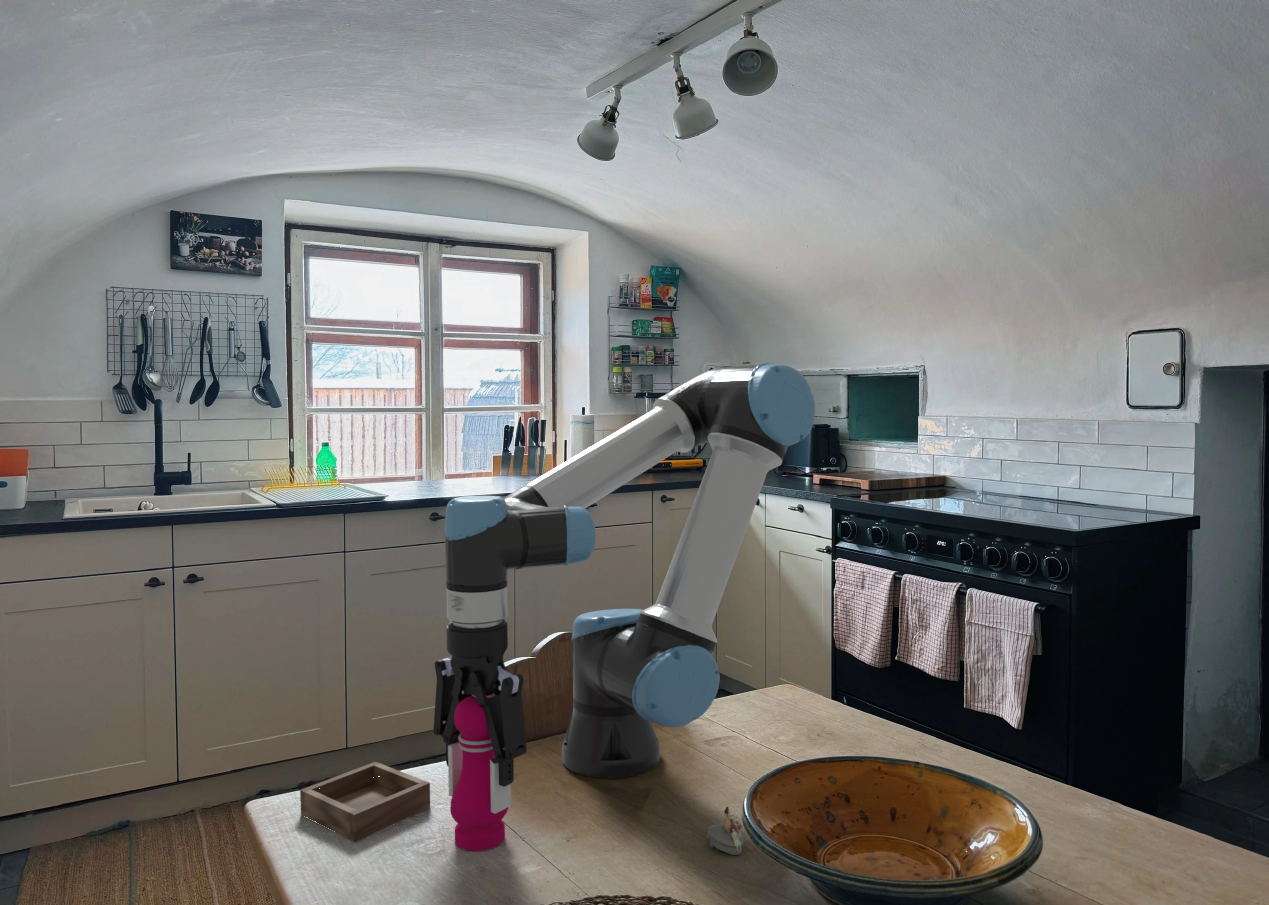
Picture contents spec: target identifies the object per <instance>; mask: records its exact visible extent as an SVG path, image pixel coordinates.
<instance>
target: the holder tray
mask: <svg viewBox="0 0 1269 905" xmlns="http://www.w3.org/2000/svg"><path fill="white" fill-rule="evenodd" d="M378 776H380V777H378ZM373 777H374V778H373ZM319 788H320V789H319ZM299 792H300V793H299V794H300V800H299V801H300V816H301V815H303V816H305V817H308V818H309V819H311V820H313V821H316V822H317V823H319V824H321V825H323V826H325V827H327V828H329V829H331V830H333V831H335V832H336V834H337V833H338V835H339V834H340V835H339V836H341V837H343V838H346V839H348V840H350V841H352V842H353V843H357V842H358V841H361V840H363V839H365V838H368V837H369V836H371V835H373V834H374V835H375V834H376V833H378V832H380V831H383V830H385V829H386V828H389V827H391V825H392V826H393V824H394V825H396V824H398V823H400V822H402V820H403V821H405V820H406V819H409V818H411V817H413V816H416V815H418V814H420V813H423V812H425V811H427V810H429V809H431V783H430V782H428V781H426V780H424V779H422V778H419V777H416V776H413V775H411V774H410V773H409V774H408V773H406V772H403V771H400V770H398V769H395V768H393V767H390V766H388V765H385V764H383V763H380V762H377V761H373V762H371V763H368V764H366V765H363V766H361V767H357V768H355V769H352V770H350V771H347V772H345V773H342V774H339V775H336V776H333V777H332V778H329V779H326V780H324V781H321V782H317V783H316V784H312V785H310V786H308V787H305V788H301V789H300V791H299ZM303 816H302V817H303ZM305 817H304V818H305ZM309 819H308V820H309ZM311 820H310V821H311ZM313 821H312V822H313ZM317 823H316V824H317ZM319 824H318V825H319ZM321 825H320V826H321ZM323 826H322V827H323ZM325 827H324V828H325ZM327 828H326V829H327ZM329 829H328V830H329ZM331 830H330V831H331ZM333 831H332V832H333ZM335 832H334V833H335Z"/></svg>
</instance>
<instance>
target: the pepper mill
mask: <svg viewBox="0 0 1269 905" xmlns="http://www.w3.org/2000/svg"><path fill="white" fill-rule="evenodd" d="M486 697H487V698H489V697H492V695H489V696H486ZM454 723H455V726H456V728H457V729H458V730H459V732H460V733H461V734H460V735H459V737H458V739H459V745H458V746H459V748H460V749H462V755H463V762H462V770H461V775H460V778H459V780H458V783H457V785H456V787H455V790H454V792H453V795H452V796H451V799H450V807H449V808H450V815H451V817H452V819H453V820H454V821H455V822H456V824H455V826H454V843H455V845H456V846H457V847H459V848H460V849H462V850H464V851H470V852H480V851H483V852H484V851H488V850H491V849H494V848H497V847H498V846H499V845H501V844H502V843H503V842H504V840H505V837H506V825H505V821H504V820H503V818H504V817H506V814H507V813H508V811H509V807H508V808H506V809H504V810H502V811H500V812H498V813H496V814H495V813H492V812H491V780H490V760H491V759H493V758H495V754H494V750H493V746H492V742H491V738H490V735H489V731H488V727H487V723H486V716H485V713H484V711H483V708H482V707H481V706H479V704H478V701H477V697H475V696H474V695H471V696H468V697H466V698H465V699H463V700H462V701H461V702H460V703H459V704H458V705H457V707H456V710H455V714H454Z"/></svg>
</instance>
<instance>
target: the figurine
mask: <svg viewBox="0 0 1269 905" xmlns="http://www.w3.org/2000/svg"><path fill="white" fill-rule="evenodd" d="M723 814H724V815H725V818H724V820H723V822H718V823H715V824H712V825H710V826H709V827H707V833H706V837H705V838H706V839H707V840H708V841H709V842H708V844H709V847H710V848H711V849H713V848H715V849H717V850H718V851H722V852H723V853H726V854H729V855H731V856H733V855H734V856H737V855H740V854H742V852H743V851H742V850H743V849H742V847H743V845H744V843H745V840H744V836H743V835H742V831H741V829H742V825H741V823H740V820H739V818H738V817H739V816H738V815H736V817H735V815H734V814H731V811H730V808H729V806H725V809H724V812H723Z"/></svg>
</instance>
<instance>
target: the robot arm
mask: <svg viewBox="0 0 1269 905" xmlns="http://www.w3.org/2000/svg"><path fill="white" fill-rule="evenodd" d="M811 389H812V388H811V386H810V384H809V382H808V380H807V379H806V378H805V376H804V375H803V374H802V373H801V372H799V371H798V370H797V369H795V368H794V367H792V366H789V365H786V364H774V363H770V362H764V363H760V364H754V365H753V364H752V365H737V366H735V365H732V366H731V365H729V366H718V367H715V368H712V369H709V370H707V371H705V372H702V373H700V374H698V375H697V376H695V377H693V378H690V379H689V380H687V381H685V382H684V383H683V384H680V386H677V387H676V388H674V389H672V390H671V391H669V392H667V393H666V394H664V395H662V396H660V397H658V398H657V399H656V400H655V401H654V402H653V405H652V409H651V410H650V411H648V412H647V413H644V414H643V415H641V416H639V417H638V418H635V420H633V421H631V422H629V423H628V424H626V425H624V426H623V427H621V428H620V429H618V430H617V431H615V432H613V433H611V434H609V435H608V436H606V437H605V438H603V439H601V440H599V441H598V442H596V443H595V444H592V445H591V446H589V447H587V448H586V449H585V450H583V451H580V453H577V454H576V455H574V456H573V457H571V458H570V459H567V460H566V461H564V462H563V463H561V464H560V465H557V466H556V467H554V468H553V469H551V470H549V471H548V472H546V473H544V474H542V475H540V476H539V477H538V478H537V477H536V479H534V480H532V481H530V482H529V483H527V484H526V485H523V486H522V487H520V488H518V489H516V490H515V491H513V492H511V493H509V494H508V495H506V496H504V495H502V496H501V495H498V496H497V495H468V496H467V495H465V496H459V497H454V498H452V499H451V500H449V502H448V503H447V505H446V508H445V518H444V533H443V538H444V546H445V547H444V549H445V573H446V574H445V575H446V576H445V577H446V580H445V581H446V582H445V584H446V587H445V588H446V592H445V593H446V619H447V620H448V621H449V622H448V623H447V625H446V651H447V653H448V654H450V656H449V657H446V658H442V659H438V660H435V662H434V669H435V675H436V687H435V699H434V700H435V701H434V702H435V704H434V716H433V717H434V718H433V720H434V721H433V734H434V735H435V736H437V737H438V736H441V738H442V741H443V742H444V743H445V763H446V766H447V767H448V796H450V797H452V795H453V792H454V790H455V787H456V785H457V783H458V780H459V778H460V775H461V770H462V762H463V755H462V749H460V748H459V746H458V745H459V739H458V737H459V735H460V734H461V733H460V732H459V730H458V729H457V728H456V726H455V723H454V714H455V710H456V707H457V705H458V704H459V703H460V702H461V701H462V700H463V699H465V698H466V697H468V696H471V695H474V696H475V697H477V701H478V704H479V706H481V707H482V708H483V711H484V713H485V716H486V723H487V727H488V731H489V735H490V738H491V742H492V746H493V750H494V754H495V758H493V759H491V760H490V780H491V812H492V813H495V814H496V813H498V812H500V811H502V810H504V809H506V808H508V809H509V807H512V784H513V783H514V780H515V777H514V776H515V775H514V774H515V773H514V772H515V771H514V768H515V766H514V765H515V764H514V760H515V759H516V758H517V757H520V756H522V755H525V754H526V753H527V752H528V750H527V740H526V728H525V727H526V726H525V718H524V708H523V705H524V704H523V698H522V691H523V685H524V676H523V674H521V673H517V674H513V673H511V672H509V671H507V669H506V665H505V663H504V655H505V653H506V651H507V649H508V646H509V641H508V640H509V636H508V635H509V632H508V631H509V630H508V626H509V625H508V622H507V621H506V620H505V619H506V618H507V617H508V616H509V615H508V612H509V610H508V606H509V605H508V571H511V570H512V571H514V570H522V569H532V568H533V569H534V568H542V567H552V566H568V565H572V564H576V563H582V562H585V561H587V560H588V559H590V557H591V556H592V554H593V552H594V549H595V546H596V526H595V523H594V522H595V521H594V520H593V517H592V516H591V513H590V512H589V511H588V510H587V509H586V508H589V507H590V506H591V505H593V504H595V503H596V502H598V501H599V500H601V499H603V498H604V497H606V496H608V495H609V494H611V493H613V492H615V491H616V490H617V489H619V488H620V487H622V486H624V485H625V484H627V483H628V482H630V481H631V480H633V479H635V478H636V477H639V475H642V474H643V473H644V472H647V470H650V469H651V468H652V467H654V466H656V465H657V464H659V463H660V462H662V461H665V459H667V458H669V457H670V456H671V455H674V454H675V453H677V452H678V453H683V454H684V453H688V452H690V451H692V450H694V449H695V448H697V447H698V446H701V445H703V444H707V443H708V444H709V445H710V448H711V450H712V451H711V455H710V458H709V461H708V464H707V466H706V468H705V470H704V471H705V472H704V474H703V476H702V479H701V482H700V484H699V488H698V490H697V492H696V495H695V498H694V501H693V503H692V505H691V508H690V511H689V514H688V516H687V519H686V522H685V525H684V527H683V530H682V532H681V535H680V538H679V541H678V543H677V545H676V549H675V550H674V553H673V556H672V559H671V562H670V564H669V567H668V570H667V573H666V575H665V577H664V580H663V583H662V585H661V588H660V590H659V593H658V596H657V599H656V601H655V603H654V604H652V605H650V606H649V607H647V608H645V609H641V608H613V609H603V610H602V609H601V610H594V611H589V612H585V613H582V614H580V615H578V616H577V617H575V619H574V621H573V623H572V632H571V633H572V634H571V642H572V698H573V699H572V700H573V704H572V705H573V706H572V713H571V717H570V719H569V723H568V726H567V729H566V733H565V736H564V739H563V742H562V747H561V760H562V764H563V765H564V766H565V767H566V768H567V769H568V770H569V771H572V772H573V773H577V774H578V775H583V776H586V777H591V778H592V777H593V778H599V779H618V778H619V779H620V778H621V779H622V778H628V777H633V776H637V775H641V774H644V773H647V772H649V771H651V770H653V769H654V768H655V767H657V765H658V764H659V763H660V760H661V745H660V741H659V739H658V737H657V734H656V730H655V727H654V723H655V724H657V725H659V726H662V727H667V728H679V727H684V726H687V725H689V724H690V723H691V722H693V721H696V720H698V719H699V718H700V717H702V716H703V715H704V714H705V713H706V712H707V711H708V710H709V709H710V707H711V705H712V704H713V702H714V700H715V699H716V696H717V694H718V690H719V688H720V687H719V686H720V682H721V681H720V679H721V678H720V672H719V671H718V668H719V665H718V663H717V660H715V658H714V656H713V655H714V652H715V649H716V647H717V644H718V638H717V637H716V634H715V632H714V629H713V623H714V620H715V617H716V615H717V612H718V610H719V606H720V603H721V601H722V598H723V595H724V593H725V590H726V587H727V584H728V582H729V579H730V576H731V573H732V571H733V568H734V564H735V563H736V560H737V557H738V554H739V552H740V550H741V549H740V548H741V546H742V543H743V541H744V537H745V535H746V532H747V529H748V526H749V524H750V520H751V518H752V515H753V514H754V510H755V507H756V504H757V503H758V500H759V496H760V493H761V491H762V488H763V485H764V483H765V480H766V477H767V474H768V472H769V471H771V470H774V469H775V468H777V467H779V466H780V467H781V465H782V464H783V461H784V459H785V456H786V453H787V450H788V448H789V446H793V445H794V444H797V443H799V442H800V441H802V440H804V439H805V438H806V437H808V435H809V434H810V432H811V430H812V429H813V428H812V427H813V425H814V422H815V418H816V403H815V397H814V394H812V390H811ZM493 694H494V695H493ZM486 696H491V697H489V698H487V697H486Z"/></svg>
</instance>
